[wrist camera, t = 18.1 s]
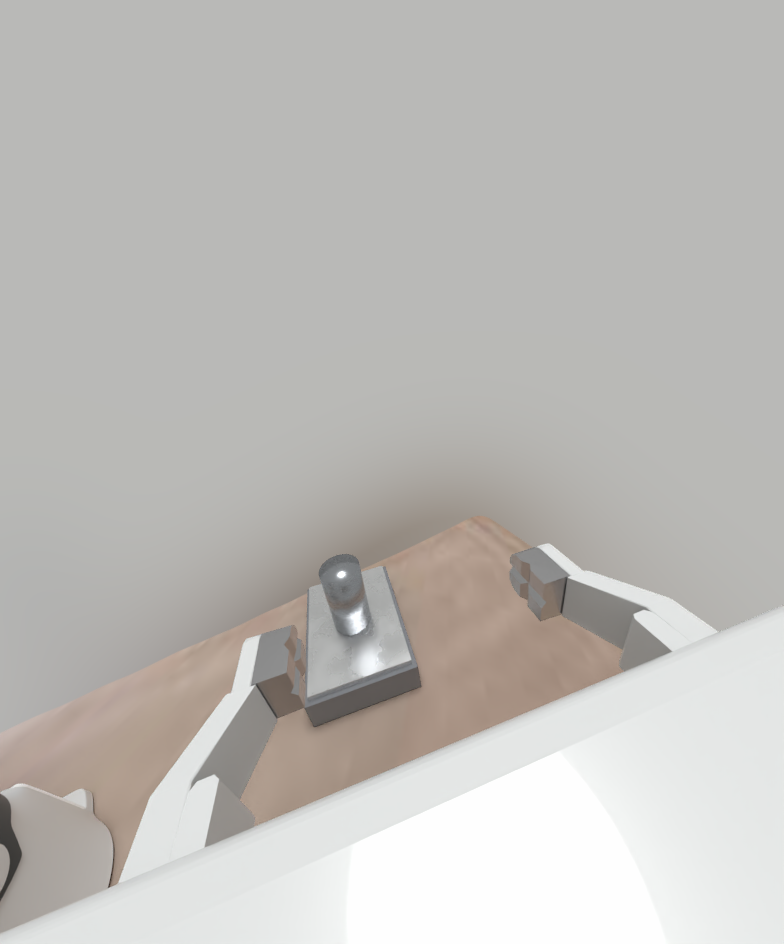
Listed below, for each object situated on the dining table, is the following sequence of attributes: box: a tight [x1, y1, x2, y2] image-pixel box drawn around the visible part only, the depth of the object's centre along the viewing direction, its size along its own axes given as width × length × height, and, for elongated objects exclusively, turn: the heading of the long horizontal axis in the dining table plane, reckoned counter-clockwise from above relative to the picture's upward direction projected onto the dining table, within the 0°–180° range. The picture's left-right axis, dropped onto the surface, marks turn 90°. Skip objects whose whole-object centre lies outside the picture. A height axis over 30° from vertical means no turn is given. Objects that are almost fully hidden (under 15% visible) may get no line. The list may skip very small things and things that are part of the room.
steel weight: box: [319, 554, 371, 635], centre depth 37 cm, size 5×5×9 cm
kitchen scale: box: [305, 566, 421, 727], centre depth 40 cm, size 13×18×5 cm
